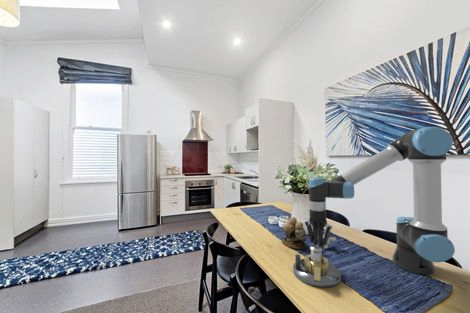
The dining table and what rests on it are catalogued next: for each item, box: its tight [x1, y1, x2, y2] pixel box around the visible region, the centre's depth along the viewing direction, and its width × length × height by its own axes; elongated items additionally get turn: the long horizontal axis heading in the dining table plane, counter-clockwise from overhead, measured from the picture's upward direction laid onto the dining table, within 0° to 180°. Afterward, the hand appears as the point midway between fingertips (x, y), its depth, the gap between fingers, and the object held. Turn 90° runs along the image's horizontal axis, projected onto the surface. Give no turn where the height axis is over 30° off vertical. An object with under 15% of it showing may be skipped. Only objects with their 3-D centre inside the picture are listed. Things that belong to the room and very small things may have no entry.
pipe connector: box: [318, 229, 337, 249], centre depth 120 cm, size 10×10×10 cm
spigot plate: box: [292, 244, 342, 289], centre depth 93 cm, size 20×20×12 cm
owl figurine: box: [281, 216, 308, 251], centre depth 124 cm, size 18×12×17 cm, turn 29°
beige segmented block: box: [303, 253, 329, 281], centre depth 93 cm, size 19×10×6 cm, turn 161°
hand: (318, 258), depth 100 cm, fingers closed
